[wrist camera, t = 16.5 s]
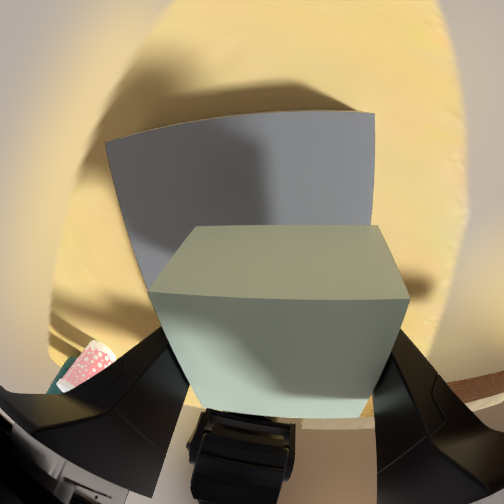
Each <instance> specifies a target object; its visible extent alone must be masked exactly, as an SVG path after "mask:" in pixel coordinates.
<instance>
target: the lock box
mask: <svg viewBox="0 0 504 504" xmlns="http://www.w3.org/2000/svg"><path fill="white" fill-rule="evenodd" d="M105 146H106V151H107V156H108V160H109V165H110V169H111V174H112V178H113V182H114V186H115V190H116V194H117V197H118V201H119V205H120V208H121V212H122V215H123V219H124V222H125V225H126V229H127V232H128V235H129V238H130V241H131V244H132V247H133V250H134V253H135V256H136V259H137V262H138V265H139V268H140V270H141V273H142V276H143V278H144V281H145V284H146V286H147V289H149V288H150V287H151V285H152V284H153V282H154V281H155V280H156V278H157V277H158V275H159V274H160V273H161V271H162V270H163V269H164V267H165V266H166V265H167V263H168V262H169V261H170V259H171V258H172V257H173V255H174V254H175V253H176V251H177V250H178V249H179V247H180V246H181V245H182V243H183V242H184V241H185V239H186V238H187V237H188V236H189V234H190V233H191V232H192V230H193V229H194V228H195V227H196V226H232V225H371V215H372V203H373V188H374V166H375V114H374V113H368V112H362V111H351V110H286V111H268V112H255V113H244V114H235V115H227V116H219V117H212V118H205V119H199V120H193V121H187V122H182V123H177V124H171V125H167V126H162V127H157V128H153V129H149V130H144V131H140V132H137V133H134V134H130V135H127V136H124V137H120V138H117V139H114V140H111V141H108V142H105Z"/></svg>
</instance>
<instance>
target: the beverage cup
mask: <svg viewBox="0 0 504 504" xmlns="http://www.w3.org/2000/svg"><path fill="white" fill-rule="evenodd" d="M115 360H116V357H115V355H114V353H113V352H112V351H111V350H110V349H109V348H108V347H107V346H105V345H104V344H102V343H101V342H99V341H96V340H92V341H91V342H90V343H89V344H88V346H87V347H86V348H85V349H84V351H83V352H82V353H81V354H80V356H79V357H78V358H77V359H76V361H75V362H74V363H73V365H72V366H71V367H70V369H69V370H68V371H67V373H66V374H65V375H64V377H63V378H62V379H59V381H58V382H57V383H56V384H57V386H58V388H59V389H60V390H61V391H62V392H63V393H64V392H67V391H69V390H71V389H73V388H74V387H76V386H78V385H79V384H81V383H83V382H84V381H86V380H88V379H89V378H91V377H92V376H94V375H96V374H97V373H99V372H100V371H102V370H103V369H105V368H106V367H108V366H109V365H110V364H112V363H113V362H115Z"/></svg>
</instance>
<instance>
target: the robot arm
mask: <svg viewBox="0 0 504 504" xmlns="http://www.w3.org/2000/svg"><path fill="white" fill-rule="evenodd" d="M189 385H190V383H189V381H188V379H187V377H186V376H185V374H184V372H183V370H182V368H181V366H180V364H179V362H178V360H177V358H176V356H175V354H174V352H173V349H172V347H171V345H170V343H169V341H168V339H167V337H166V334H165V332H164V330H163V328H162V326H161V327H159V328H158V329H157V330H155V331H154V332H153V333H151V334H150V335H149V336H148V337H146V338H145V339H144V340H142V341H141V342H140V343H138V344H137V345H136V346H134V347H133V348H132V349H130V350H129V351H128V352H126V353H125V354H124V355H123V357H122V356H121V357H120V358H118V359H117V360H116V361H115V362H113V363H112V364H110V365H109V366H108V367H106V368H105V369H103V370H102V371H100V372H99V373H97V374H96V375H94V376H92V377H91V378H89V379H88V380H86V381H84V382H83V383H81V384H79V385H78V386H76V387H74V388H73V389H71V390H69V391H67V392H64V393H60V394H20V393H12V392H9V391H6V390H5V389H4V388H3V387H2V386H0V408H1V409H2V410H3V411H4V412H5V413H6V414H7V415H8V416H9V417H10V418H11V419H12V420H13V421H14V422H15V423H14V424H13V423H11V422H10V421H9V420H8V419H7V418H6V417H4V416H3V415H2V414H1V413H0V504H125V501H126V498H127V496H128V493H129V490H130V491H132V492H135V493H138V494H140V495H143V496H146V497H149V498H152V496H153V493H154V490H155V487H156V484H157V481H158V478H159V475H160V472H161V469H162V466H163V463H164V459H165V457H166V453H167V450H168V447H169V444H170V441H171V438H172V435H173V432H174V429H175V426H176V423H177V420H178V417H179V414H180V411H181V409H182V406H183V403H184V400H185V397H186V394H187V391H188V388H189ZM372 400H373V410H374V421H375V434H376V452H377V473H378V474H377V504H504V432H500V431H496V430H493V429H491V428H489V427H488V426H486V425H485V424H484V423H483V422H482V421H481V420H480V419H479V418H478V417H477V416H476V415H475V414H474V413H473V412H472V411H471V410H470V409H469V408H468V407H467V406H466V405H465V404H464V403H463V402H462V400H461V399H460V398H459V397H458V396H457V395H456V394H455V393H454V392H453V391H452V389H451V388H450V387H449V386H448V385H447V383H446V382H445V381H444V380H443V379H442V377H441V376H440V375H438V372H437V371H436V370H435V369H434V367H433V366H432V365H431V364H430V363H429V361H428V360H427V359H426V358H425V357H424V355H423V354H422V353H421V352H420V351H419V349H418V348H417V347H416V346H415V345H414V344H413V342H412V341H411V340H410V339H409V338H408V337H407V335H406V334H405V333H404V332H403V331H402V330H401V329H400V330H399V333H398V335H397V338H396V340H395V343H394V345H393V348H392V350H391V353H390V355H389V357H388V360H387V362H386V364H385V367H384V369H383V371H382V373H381V375H380V378H379V380H378V382H377V384H376V386H375V388H374V390H373V392H372ZM295 426H296V425H295V424H293V423H290V424H287V423H279V417H273V416H261V415H252V414H243V413H236V412H229V411H223V412H222V411H217V410H213V409H210V408H207V409H206V411H205V412H201V414H200V417H199V420H198V423H197V426H196V428H195V429H194V431H193V433H192V435H191V437H190V439H189V440H188V442H187V445H186V448H187V449H188V451H189V463H190V464H194V465H195V466H194V470H193V474H192V479H191V492H192V495H193V498H194V499H197V500H198V502H199V504H276V503H277V499H278V497H279V493H280V490H281V486H282V482H287V481H288V480H289V478H290V476H291V473H292V470H293V465H294V459H295Z"/></svg>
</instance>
